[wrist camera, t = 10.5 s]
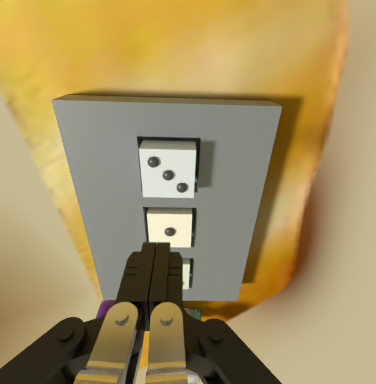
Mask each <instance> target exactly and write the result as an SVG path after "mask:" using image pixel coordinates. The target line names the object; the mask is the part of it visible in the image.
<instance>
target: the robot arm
mask: <svg viewBox="0 0 376 384" xmlns="http://www.w3.org/2000/svg"><path fill="white" fill-rule="evenodd" d="M182 299H183V258H182V256H181V254H180V253H179V252H171V251H170V242H143V245H142V249H141V252H138V251H133V252H132V254H131V255H130V256H129V257H128V259H127V262H126V266H125V269H124V273H123V276H122V280H121V283H120V287H119V290H118V294H117V298H116V301H115V304H114V306H113V307H111V308H110V309H109V311H108V312H107V313H106V314H105V315H103V316H101V317H99V318H96V319H93V320H90V321H87V322H83V321H82V320H81V319H80V318H77V317H70V318H66V319H64V320H62V321H60V322H59V323H58V324H56V325H55V326H54V327H52V328H51V329H50V330H49V331H47V333H45V334H44V335H42V336H41V337H40V338H38V339H37V340H36V341H35V342H33V343H32V344H31V345H30V346H28V347H27V348H26V349H25V350H23V351H22V352H21V353H20V354H18V355H17V356H16V357H14V358H13V359H12V360H11V361H9V362H8V363H7V364H6V365H4V366H3V367H2V368H1V369H0V384H135V381H136V376H137V372H138V367H139V363H140V358H141V353H142V348H143V346H142V345H143V339H144V332H145V331H150V335H149V354H148V369H147V373H146V382H145V384H188V378H187V369H188V370H190V371H192V372H195V373H197V374H198V376H199V378H200V379H201V381H202V382H203V383H204V384H281V382H280V381H279V380H278V379H277V378H276V377H275V376H274V375H273V374H272V373H271V371H270V370H269V369H268V368H267V367H266V366H265V365H264V364H263V363H262V362H261V361H260V360H259V358H258V357H257V356H256V355H255V354H254V353H253V352H252V351H251V350H250V349H249V348H248V347H247V345H246V344H245V343H244V342H243V341H242V340H241V339H240V338H239V337H238V336H237V335H236V333H235V332H234V331H233V330H232V329H231V328H230V327H229V326H228V325H227V324H226V323H225V322H223V321H222V320H219V319H209V320H206V321H205V322H203V321H201V320H198V319H195V318H193V317H191V316H190V315H189V314H188V313H187V312H186V311H185V309H184V307H183V301H182Z"/></svg>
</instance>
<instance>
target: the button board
mask: <svg viewBox="0 0 376 384" xmlns="http://www.w3.org/2000/svg"><path fill="white" fill-rule="evenodd" d="M52 104H53V107H54V111H55V115H56V119H57V123H58V126H59V130H60V134H61V138H62V142H63V146H64V149H65V153H66V157H67V161H68V165H69V169H70V172H71V176H72V180H73V184H74V188H75V191H76V195H77V199H78V203H79V207H80V211H81V214H82V218H83V222H84V226H85V230H86V234H87V237H88V241H89V245H90V249H91V253H92V256H93V260H94V264H95V268H96V272H97V276H98V279H99V283H100V287H101V291H102V295H103V299H104V300H116V298H117V294H118V290H119V287H120V283H121V280H122V276H123V273H124V269H125V266H126V262H127V259H128V257H129V256H130V255H131V254H132V252H133V251H138V252H141V249H142V245H143V242H149V234H148V221H147V211H148V207H178V208H192V229H191V247H170V251H171V252H179V253H180V254H181V256H182V258H190V271H189V289H183V299H182V301H238V297H239V292H240V288H241V284H242V279H243V275H244V271H245V266H246V262H247V258H248V253H249V249H250V245H251V240H252V236H253V232H254V227H255V223H256V219H257V214H258V210H259V206H260V201H261V197H262V193H263V188H264V184H265V180H266V175H267V171H268V167H269V162H270V158H271V154H272V149H273V145H274V141H275V136H276V132H277V128H278V123H279V119H280V115H281V110H282V106H280V105H279V104H277V103H275V102H273V101H269V100H235V99H201V98H167V97H133V96H99V95H64V96H61V97H58V98H56V99H53V100H52ZM143 140H166V141H195V145H196V163H195V183H194V198H163V197H143V190H142V179H141V167H140V155H139V148H140V146H141V144H142V141H143Z"/></svg>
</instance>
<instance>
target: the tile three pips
mask: <svg viewBox="0 0 376 384" xmlns="http://www.w3.org/2000/svg"><path fill="white" fill-rule="evenodd" d="M139 155H140V167H141V179H142V190H143V197H163V198H194V183H195V163H196V145H195V141H166V140H143V141H142V144H141V146H140V148H139Z"/></svg>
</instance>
